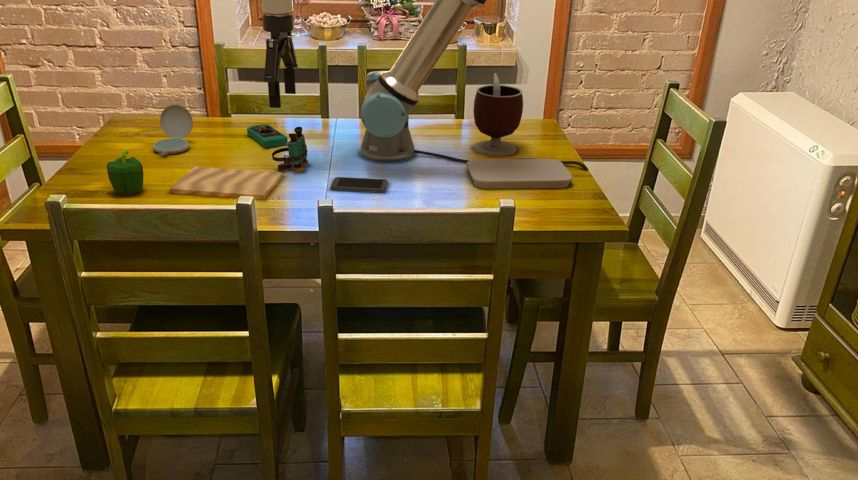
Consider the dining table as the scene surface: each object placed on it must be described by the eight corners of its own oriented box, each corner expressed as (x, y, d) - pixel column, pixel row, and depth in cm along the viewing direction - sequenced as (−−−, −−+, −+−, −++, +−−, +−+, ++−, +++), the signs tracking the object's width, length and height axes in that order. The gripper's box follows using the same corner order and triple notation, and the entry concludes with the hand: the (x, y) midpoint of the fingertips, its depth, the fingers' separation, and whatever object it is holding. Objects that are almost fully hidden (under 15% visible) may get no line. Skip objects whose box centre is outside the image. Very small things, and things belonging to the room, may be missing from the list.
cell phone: (335, 179, 191) (334, 176, 190) (388, 182, 190) (388, 179, 189) (329, 189, 184) (329, 187, 184) (384, 192, 183) (384, 189, 183)
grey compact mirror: (193, 104, 211) (175, 119, 197) (197, 141, 216) (180, 158, 203) (159, 103, 211) (138, 118, 198) (164, 140, 216) (145, 157, 203)
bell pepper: (131, 200, 177) (124, 160, 172) (104, 194, 179) (96, 155, 175) (154, 188, 184) (148, 150, 179) (128, 183, 186) (121, 145, 181)
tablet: (464, 167, 201) (465, 159, 200) (557, 166, 203) (558, 158, 202) (474, 189, 187) (474, 181, 186) (574, 188, 189) (575, 180, 188)
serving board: (282, 176, 192) (282, 172, 192) (264, 200, 178) (263, 195, 178) (195, 170, 195) (194, 166, 194) (170, 193, 181) (169, 188, 181)
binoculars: (274, 125, 198) (309, 125, 196) (280, 163, 203) (314, 162, 201) (262, 135, 191) (298, 135, 189) (268, 174, 196) (304, 174, 193)
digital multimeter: (269, 131, 225) (268, 122, 224) (288, 145, 214) (288, 135, 213) (246, 135, 222) (245, 125, 221) (265, 149, 211) (264, 139, 210)
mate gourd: (523, 156, 209) (530, 86, 199) (474, 157, 208) (479, 86, 199) (512, 139, 223) (518, 73, 213) (467, 139, 222) (471, 72, 212)
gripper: (277, 5, 191) (282, 87, 201) (245, 21, 169) (253, 112, 179) (305, 6, 190) (309, 88, 200) (277, 23, 168) (283, 114, 178)
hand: (283, 100), depth 190 cm, fingers open, 13 cm apart
